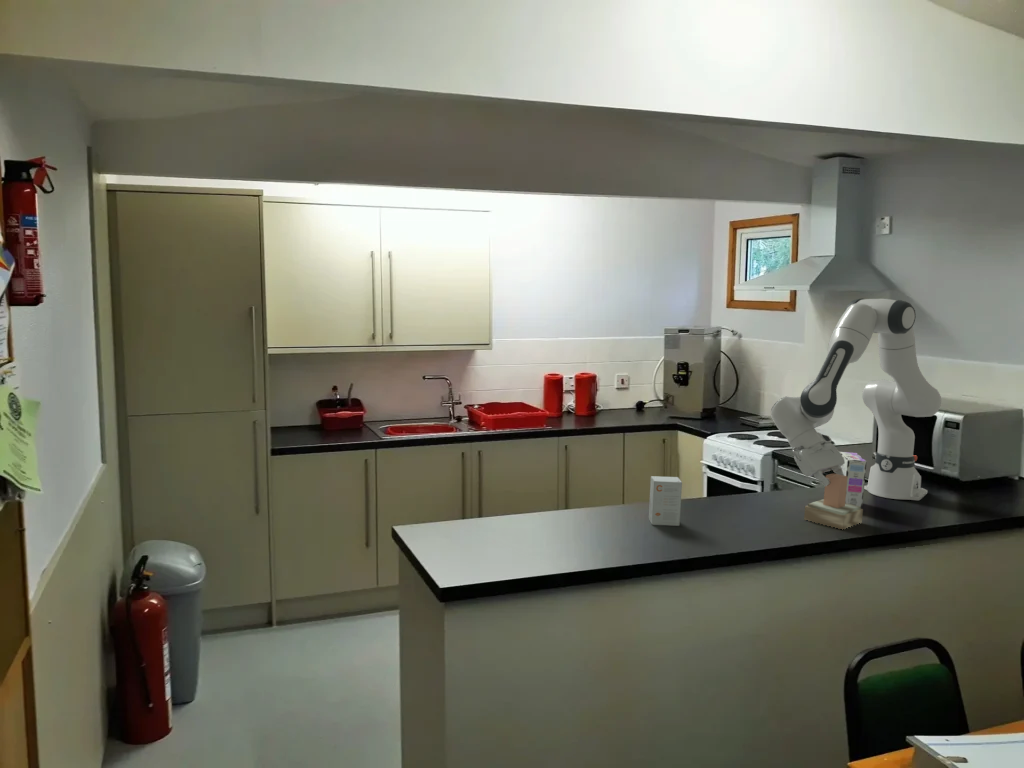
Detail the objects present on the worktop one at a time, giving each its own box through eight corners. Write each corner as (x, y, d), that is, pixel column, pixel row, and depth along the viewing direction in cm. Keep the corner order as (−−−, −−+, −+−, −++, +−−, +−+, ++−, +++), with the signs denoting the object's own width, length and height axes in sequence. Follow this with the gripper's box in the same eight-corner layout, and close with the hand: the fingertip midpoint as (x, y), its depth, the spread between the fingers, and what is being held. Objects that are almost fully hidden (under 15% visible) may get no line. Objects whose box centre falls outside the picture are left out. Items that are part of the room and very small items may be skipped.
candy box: (862, 512, 254) (867, 461, 252) (842, 510, 255) (847, 459, 253) (853, 500, 267) (857, 452, 265) (834, 499, 268) (838, 450, 266)
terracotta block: (830, 502, 245) (833, 473, 243) (844, 505, 241) (847, 476, 240) (823, 504, 242) (825, 475, 240) (837, 508, 238) (840, 478, 237)
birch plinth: (823, 513, 250) (825, 497, 250) (861, 523, 241) (863, 506, 241) (803, 519, 242) (805, 503, 242) (842, 530, 234) (844, 513, 233)
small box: (675, 519, 237) (678, 476, 236) (679, 526, 231) (682, 482, 230) (647, 518, 238) (650, 475, 236) (651, 525, 231) (654, 480, 230)
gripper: (797, 442, 238) (826, 481, 232) (831, 435, 251) (859, 472, 245) (782, 454, 242) (810, 493, 236) (817, 447, 255) (844, 483, 249)
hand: (835, 482), depth 241 cm, fingers open, 8 cm apart
